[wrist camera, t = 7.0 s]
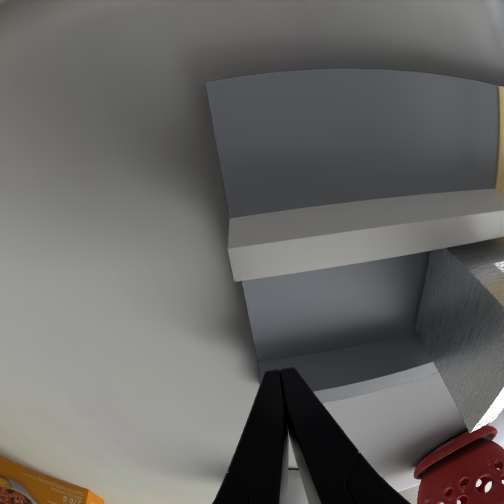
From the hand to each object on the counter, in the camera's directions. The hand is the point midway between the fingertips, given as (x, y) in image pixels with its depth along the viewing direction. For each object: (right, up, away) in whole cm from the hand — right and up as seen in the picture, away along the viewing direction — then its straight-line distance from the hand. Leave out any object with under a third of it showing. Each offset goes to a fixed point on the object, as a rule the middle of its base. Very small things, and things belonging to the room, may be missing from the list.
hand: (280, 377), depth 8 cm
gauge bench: (+10, +3, +3) cm, 11 cm away
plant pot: (+23, -20, +17) cm, 35 cm away
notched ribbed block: (+8, +5, +1) cm, 9 cm away
